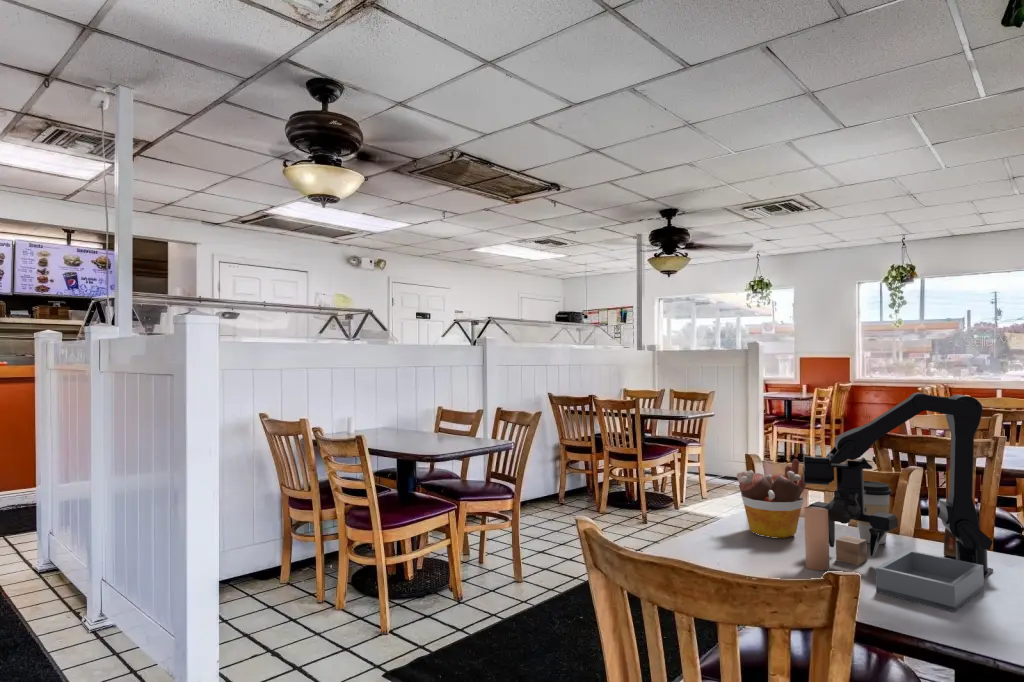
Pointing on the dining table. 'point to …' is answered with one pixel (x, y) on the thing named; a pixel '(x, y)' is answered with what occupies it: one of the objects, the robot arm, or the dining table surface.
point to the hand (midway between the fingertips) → (851, 551)
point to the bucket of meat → (772, 501)
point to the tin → (949, 544)
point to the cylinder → (816, 538)
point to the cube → (851, 550)
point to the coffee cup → (874, 506)
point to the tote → (930, 580)
